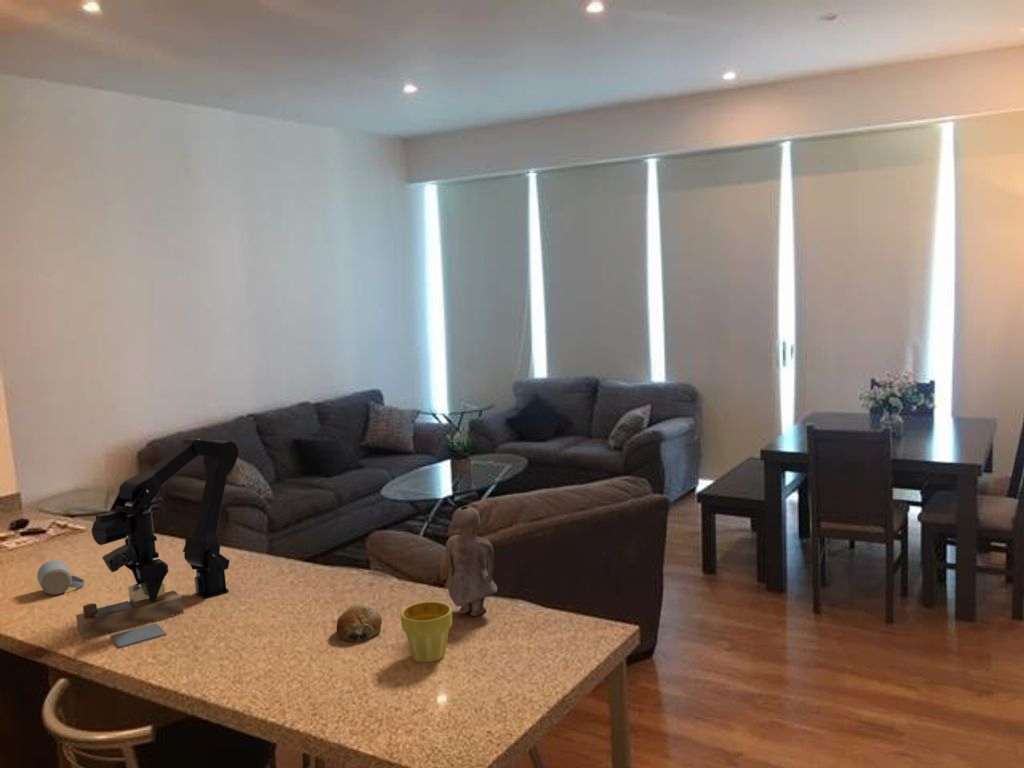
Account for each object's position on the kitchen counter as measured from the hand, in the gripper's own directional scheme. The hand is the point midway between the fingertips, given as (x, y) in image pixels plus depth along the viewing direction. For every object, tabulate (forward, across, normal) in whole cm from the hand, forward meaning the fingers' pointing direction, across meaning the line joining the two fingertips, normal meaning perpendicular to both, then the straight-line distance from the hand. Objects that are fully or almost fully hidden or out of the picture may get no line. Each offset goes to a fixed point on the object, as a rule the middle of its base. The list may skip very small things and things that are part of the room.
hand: (147, 596), depth 204 cm
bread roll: (+6, +44, +33) cm, 55 cm away
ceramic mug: (+6, -38, -12) cm, 40 cm away
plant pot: (+6, +65, +38) cm, 76 cm away
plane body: (+5, 0, -4) cm, 7 cm away
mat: (+5, +10, -5) cm, 12 cm away
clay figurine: (+6, +52, +58) cm, 78 cm away
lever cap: (0, 0, 0) cm, 0 cm away
